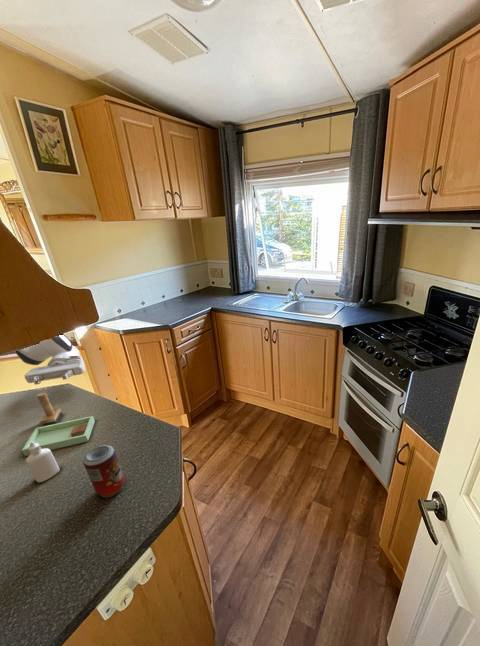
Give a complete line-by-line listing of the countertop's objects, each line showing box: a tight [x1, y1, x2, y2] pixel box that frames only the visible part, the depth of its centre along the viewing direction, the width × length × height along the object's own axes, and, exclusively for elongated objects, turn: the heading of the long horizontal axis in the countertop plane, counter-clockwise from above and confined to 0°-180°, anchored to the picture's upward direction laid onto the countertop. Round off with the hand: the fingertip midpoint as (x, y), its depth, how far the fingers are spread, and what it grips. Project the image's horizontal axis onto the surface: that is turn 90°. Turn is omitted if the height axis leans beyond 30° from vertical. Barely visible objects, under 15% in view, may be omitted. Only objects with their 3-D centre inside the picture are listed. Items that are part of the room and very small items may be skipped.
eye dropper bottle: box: [25, 441, 61, 483], centre depth 79 cm, size 4×6×12 cm
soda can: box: [82, 444, 125, 498], centre depth 74 cm, size 7×7×12 cm
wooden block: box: [71, 424, 87, 437], centre depth 98 cm, size 4×4×2 cm
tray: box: [21, 415, 96, 457], centre depth 97 cm, size 18×12×2 cm, turn 109°
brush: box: [36, 392, 63, 427], centre depth 104 cm, size 4×7×12 cm, turn 20°
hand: (50, 380), depth 112 cm, fingers open, 8 cm apart
